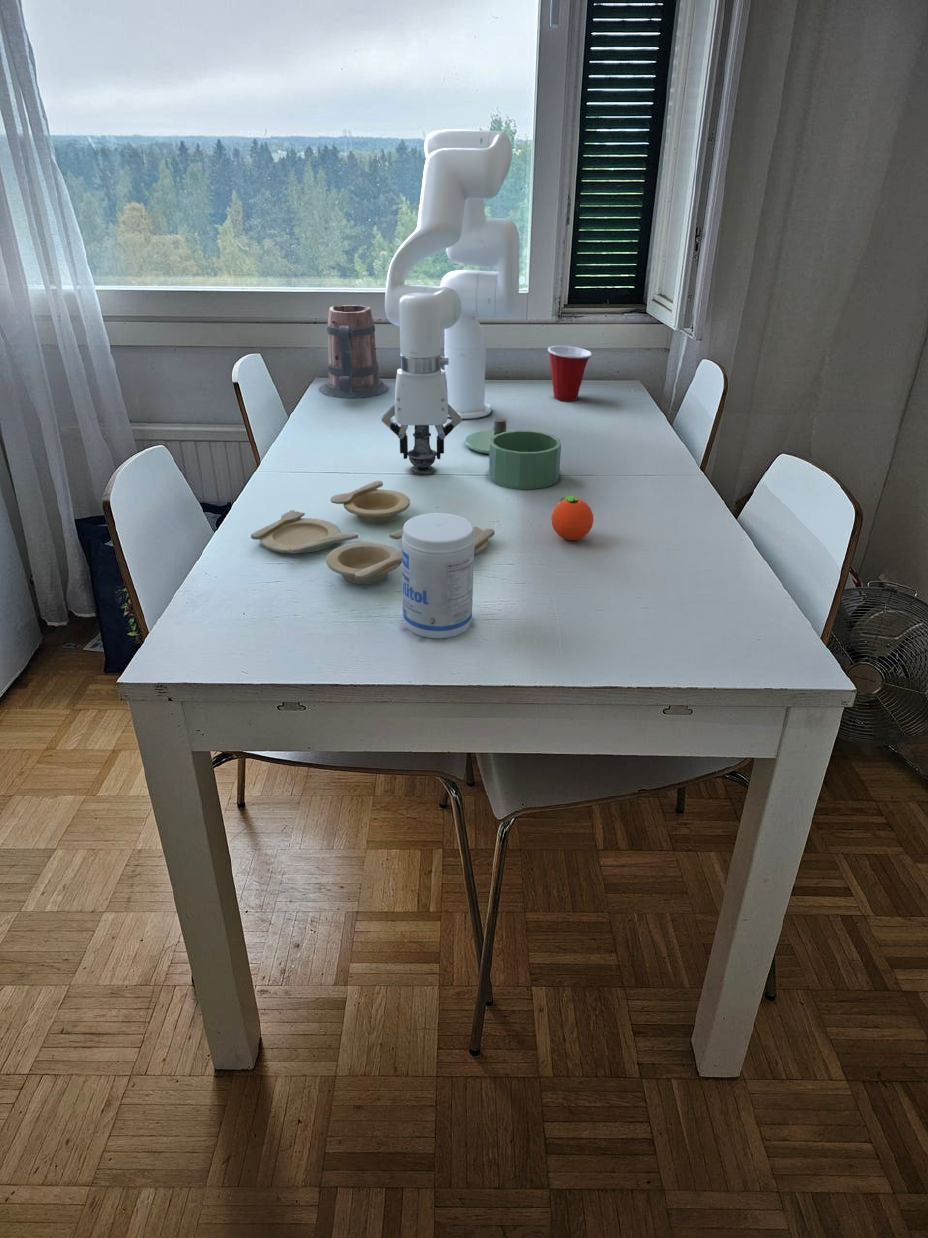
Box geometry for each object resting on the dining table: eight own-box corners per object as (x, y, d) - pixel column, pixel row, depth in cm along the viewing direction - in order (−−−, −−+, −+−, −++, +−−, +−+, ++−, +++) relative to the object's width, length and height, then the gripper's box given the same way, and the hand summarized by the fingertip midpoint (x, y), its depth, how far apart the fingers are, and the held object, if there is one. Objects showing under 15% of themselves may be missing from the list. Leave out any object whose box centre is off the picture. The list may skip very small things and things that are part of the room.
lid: (465, 456, 180) (465, 430, 177) (464, 434, 192) (465, 409, 189) (536, 457, 180) (537, 430, 177) (530, 435, 192) (532, 409, 190)
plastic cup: (590, 404, 214) (594, 354, 208) (546, 403, 214) (549, 354, 208) (585, 392, 223) (589, 344, 217) (543, 391, 223) (546, 343, 217)
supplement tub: (389, 625, 120) (385, 527, 112) (434, 600, 126) (434, 505, 119) (441, 649, 114) (441, 548, 107) (486, 622, 121) (489, 524, 113)
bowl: (490, 489, 164) (491, 453, 161) (487, 464, 176) (488, 430, 172) (561, 489, 164) (564, 453, 161) (554, 464, 176) (557, 430, 173)
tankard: (327, 379, 232) (321, 300, 222) (390, 380, 231) (387, 301, 221) (310, 404, 211) (303, 319, 201) (379, 405, 211) (376, 320, 201)
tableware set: (512, 547, 142) (513, 524, 140) (379, 611, 123) (378, 586, 121) (369, 491, 162) (368, 471, 160) (236, 538, 144) (233, 516, 142)
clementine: (539, 531, 148) (542, 491, 144) (575, 525, 150) (578, 486, 146) (562, 550, 141) (565, 509, 138) (599, 543, 144) (603, 503, 140)
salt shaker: (439, 466, 175) (438, 407, 169) (435, 476, 170) (434, 416, 164) (410, 464, 175) (408, 406, 169) (405, 475, 170) (404, 414, 164)
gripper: (466, 359, 165) (465, 450, 174) (376, 358, 165) (379, 450, 174) (467, 369, 159) (466, 463, 168) (372, 368, 159) (376, 463, 168)
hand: (422, 455), depth 171 cm, fingers closed on salt shaker, 5 cm apart
